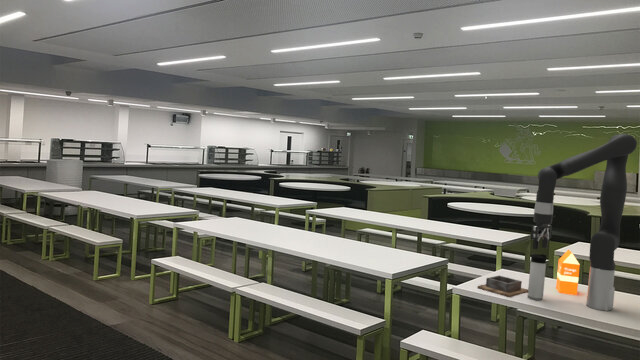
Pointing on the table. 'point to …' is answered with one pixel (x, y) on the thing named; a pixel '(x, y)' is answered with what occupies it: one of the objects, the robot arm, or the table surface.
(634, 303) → the table surface
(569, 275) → the orange juice
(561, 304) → the table surface
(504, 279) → the grey tray on board
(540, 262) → the travel mug
